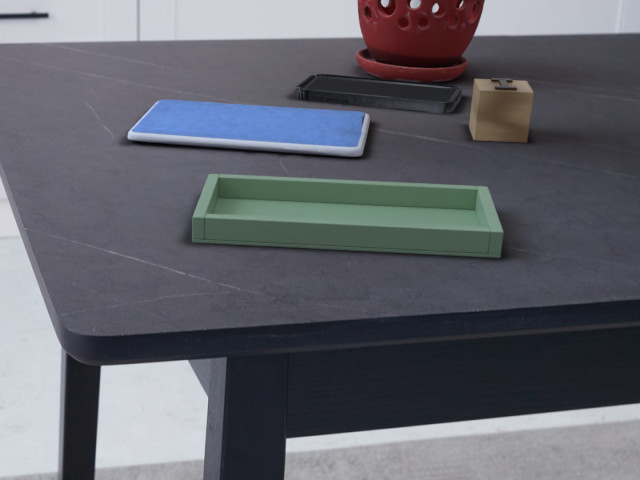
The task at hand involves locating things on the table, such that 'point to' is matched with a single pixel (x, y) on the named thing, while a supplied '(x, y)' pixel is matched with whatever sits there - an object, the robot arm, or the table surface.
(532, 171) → the table surface
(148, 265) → the table surface
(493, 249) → the tray
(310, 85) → the dark grey shallow tray
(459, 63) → the flower pot
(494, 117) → the wooden letter block
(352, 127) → the tablet
